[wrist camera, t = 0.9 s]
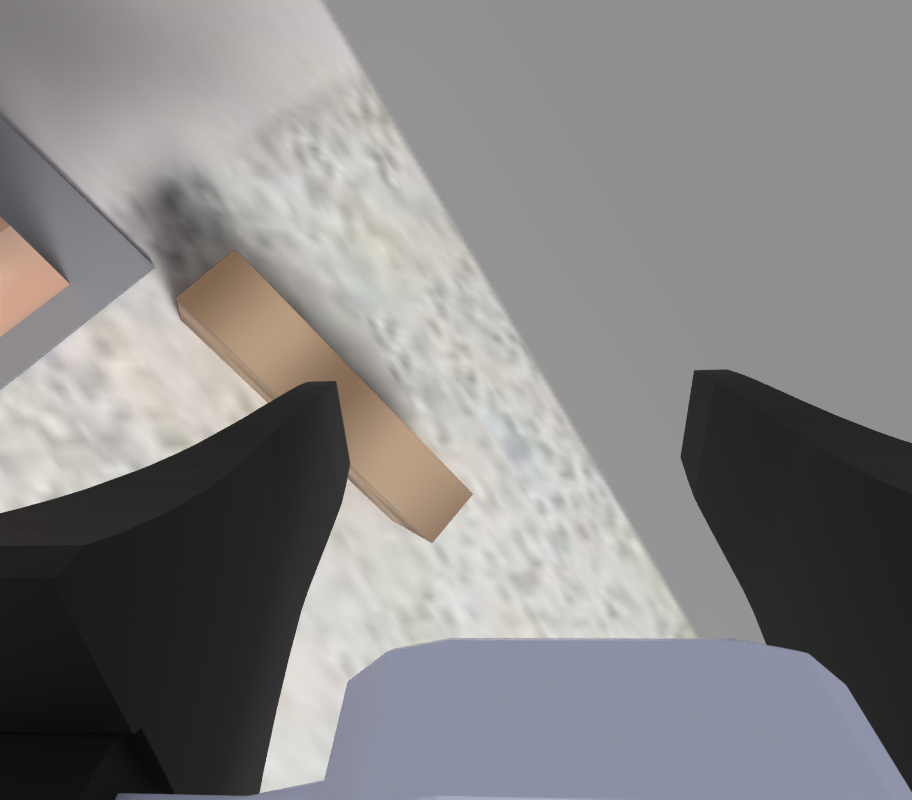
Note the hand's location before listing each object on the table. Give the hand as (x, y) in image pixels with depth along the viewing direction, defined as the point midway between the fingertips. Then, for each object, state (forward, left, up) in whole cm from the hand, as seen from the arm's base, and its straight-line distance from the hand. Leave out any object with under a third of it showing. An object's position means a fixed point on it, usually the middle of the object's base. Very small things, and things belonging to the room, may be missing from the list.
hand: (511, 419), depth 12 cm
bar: (-1, +1, -14) cm, 14 cm away
